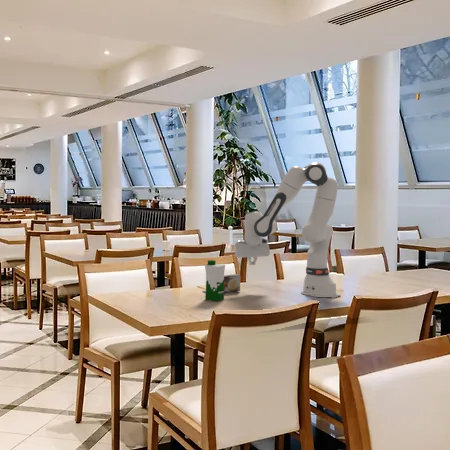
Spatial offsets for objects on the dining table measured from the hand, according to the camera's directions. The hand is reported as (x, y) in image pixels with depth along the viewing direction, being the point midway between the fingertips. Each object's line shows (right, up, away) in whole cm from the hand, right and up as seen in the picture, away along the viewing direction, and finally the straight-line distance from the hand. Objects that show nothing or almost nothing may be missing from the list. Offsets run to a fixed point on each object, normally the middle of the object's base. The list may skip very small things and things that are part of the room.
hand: (252, 264), depth 327 cm
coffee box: (-8, -10, -3) cm, 13 cm away
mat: (-18, -15, -6) cm, 24 cm away
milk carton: (-21, -16, -28) cm, 38 cm away
